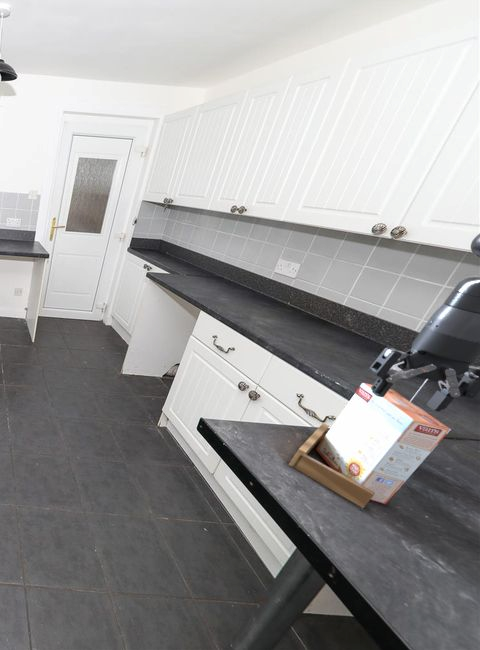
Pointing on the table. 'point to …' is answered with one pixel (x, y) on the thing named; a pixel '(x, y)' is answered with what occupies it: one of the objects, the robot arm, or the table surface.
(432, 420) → the cracker box
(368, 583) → the table surface
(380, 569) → the table surface
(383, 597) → the table surface
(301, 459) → the rack
